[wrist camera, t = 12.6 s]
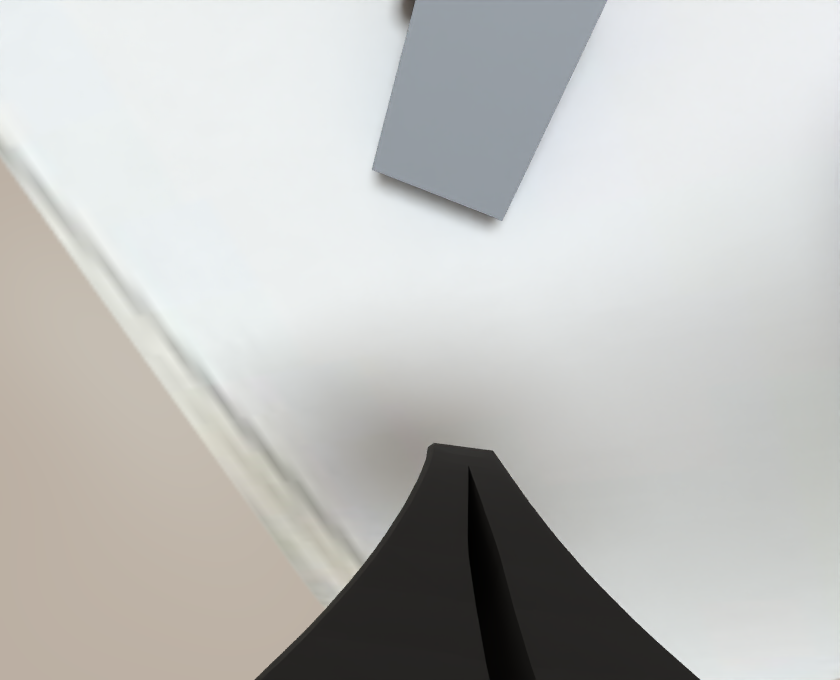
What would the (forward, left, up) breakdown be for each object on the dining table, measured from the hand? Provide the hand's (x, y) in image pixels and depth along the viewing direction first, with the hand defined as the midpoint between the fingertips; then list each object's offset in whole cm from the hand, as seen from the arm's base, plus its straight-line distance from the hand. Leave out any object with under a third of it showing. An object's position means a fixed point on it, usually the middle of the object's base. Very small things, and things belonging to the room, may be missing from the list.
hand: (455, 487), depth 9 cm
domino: (+4, -4, -10) cm, 11 cm away
